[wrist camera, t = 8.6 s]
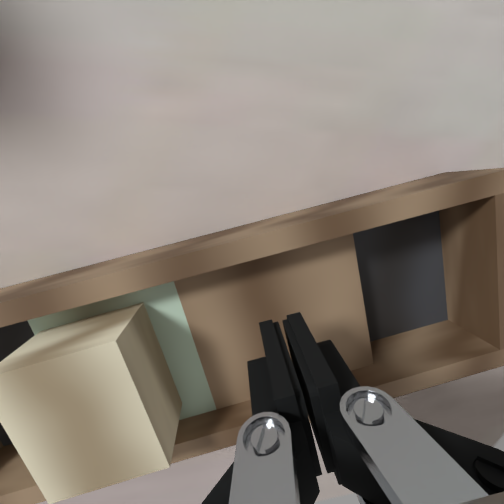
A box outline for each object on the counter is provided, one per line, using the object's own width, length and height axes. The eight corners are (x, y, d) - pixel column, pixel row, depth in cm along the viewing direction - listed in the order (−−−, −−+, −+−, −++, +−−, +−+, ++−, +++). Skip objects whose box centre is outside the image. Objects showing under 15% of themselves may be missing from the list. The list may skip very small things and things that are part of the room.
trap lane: (444, 172, 16) (515, 167, 12) (455, 324, 18) (518, 361, 14) (-83, 310, 15) (-193, 353, 11) (2, 454, 17) (-63, 532, 13)
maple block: (143, 302, 13) (115, 340, 10) (182, 403, 15) (170, 467, 11) (40, 331, 13) (-25, 380, 10) (89, 430, 14) (48, 504, 11)
